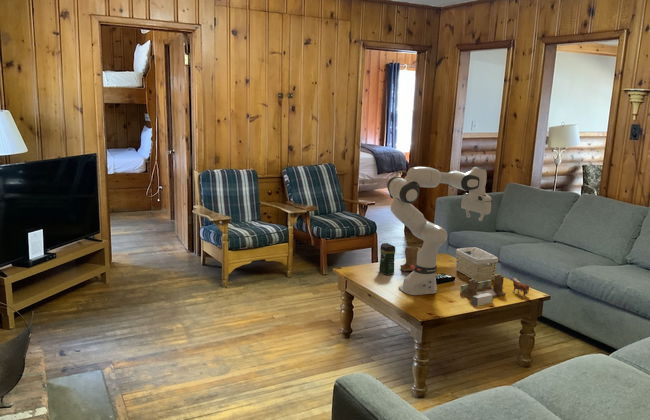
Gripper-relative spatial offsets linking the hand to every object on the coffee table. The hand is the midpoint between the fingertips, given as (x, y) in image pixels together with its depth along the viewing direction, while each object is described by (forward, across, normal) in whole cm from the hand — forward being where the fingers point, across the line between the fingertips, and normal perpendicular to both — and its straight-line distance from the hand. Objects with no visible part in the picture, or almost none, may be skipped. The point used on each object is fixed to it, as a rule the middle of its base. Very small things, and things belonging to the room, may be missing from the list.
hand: (474, 219), depth 313 cm
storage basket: (+40, -13, +19) cm, 46 cm away
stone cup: (+41, -39, -12) cm, 57 cm away
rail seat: (+40, +14, -2) cm, 43 cm away
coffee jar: (+41, -40, -30) cm, 65 cm away
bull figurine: (+40, +23, +18) cm, 50 cm away
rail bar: (+41, +24, -12) cm, 49 cm away
